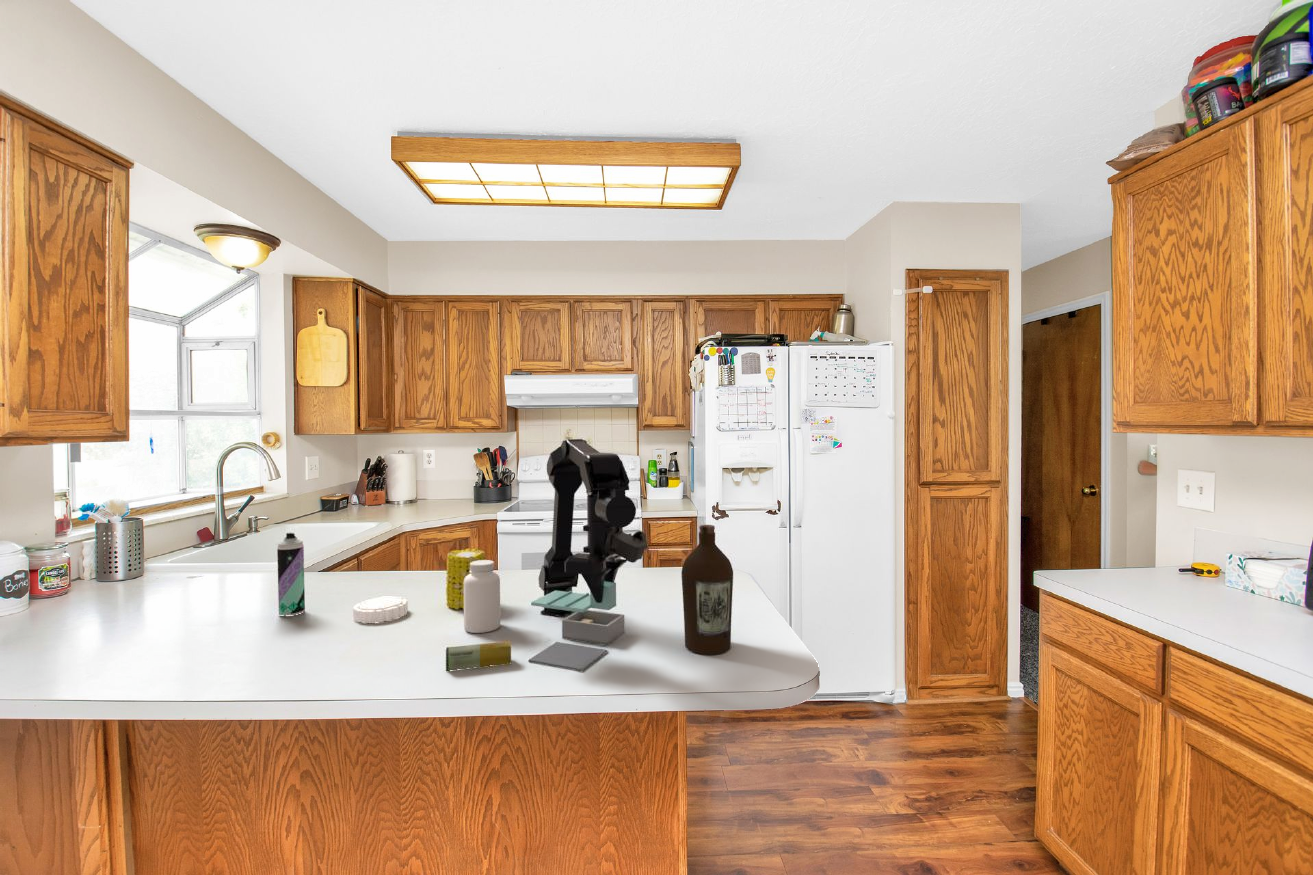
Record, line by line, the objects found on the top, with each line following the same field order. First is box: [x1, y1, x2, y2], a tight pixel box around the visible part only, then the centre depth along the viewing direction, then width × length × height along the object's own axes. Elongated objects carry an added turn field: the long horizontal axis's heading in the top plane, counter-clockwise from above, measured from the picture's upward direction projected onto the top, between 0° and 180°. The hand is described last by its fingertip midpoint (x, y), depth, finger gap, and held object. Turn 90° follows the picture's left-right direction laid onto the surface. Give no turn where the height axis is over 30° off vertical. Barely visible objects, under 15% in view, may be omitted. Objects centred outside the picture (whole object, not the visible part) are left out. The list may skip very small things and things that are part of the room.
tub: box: [561, 609, 626, 646], centre depth 126 cm, size 11×8×4 cm
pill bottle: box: [463, 559, 501, 634], centre depth 131 cm, size 8×8×15 cm
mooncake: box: [352, 595, 409, 624], centre depth 141 cm, size 12×12×4 cm
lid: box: [530, 581, 617, 613], centre depth 114 cm, size 16×9×5 cm, turn 67°
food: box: [445, 547, 486, 611], centre depth 148 cm, size 15×12×10 cm
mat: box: [528, 641, 608, 672], centre depth 115 cm, size 12×10×1 cm
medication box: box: [445, 640, 512, 672], centre depth 111 cm, size 12×3×4 cm, turn 107°
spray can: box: [276, 532, 306, 616], centre depth 143 cm, size 6×6×20 cm
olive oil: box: [681, 524, 734, 656], centre depth 119 cm, size 11×11×25 cm
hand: (603, 600), depth 112 cm, fingers closed on lid, 3 cm apart
